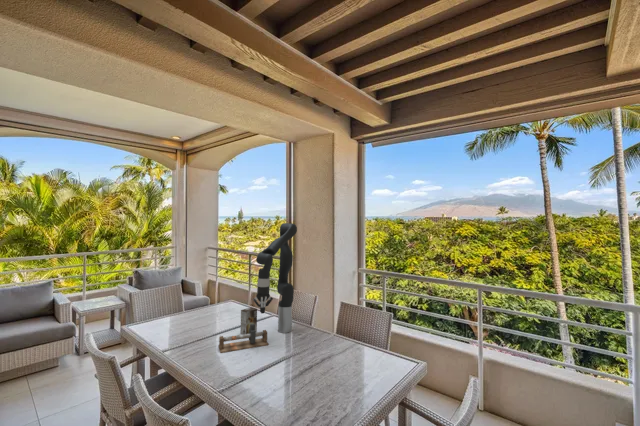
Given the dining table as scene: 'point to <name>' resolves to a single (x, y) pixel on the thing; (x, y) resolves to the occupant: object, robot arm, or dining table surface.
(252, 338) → the collar
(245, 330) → the coffee box
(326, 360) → the dining table surface
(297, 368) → the dining table surface
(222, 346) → the rail
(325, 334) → the dining table surface
